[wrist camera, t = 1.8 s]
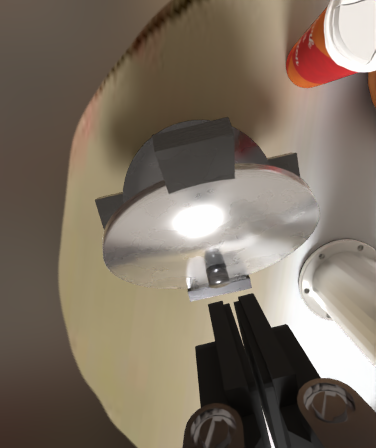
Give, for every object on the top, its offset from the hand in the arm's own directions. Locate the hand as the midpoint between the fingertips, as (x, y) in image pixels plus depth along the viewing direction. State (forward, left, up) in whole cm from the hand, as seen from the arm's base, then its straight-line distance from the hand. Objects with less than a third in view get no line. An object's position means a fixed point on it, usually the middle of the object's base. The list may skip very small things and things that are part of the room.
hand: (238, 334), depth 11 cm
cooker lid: (0, 0, -14) cm, 14 cm away
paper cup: (-17, -13, -32) cm, 38 cm away
